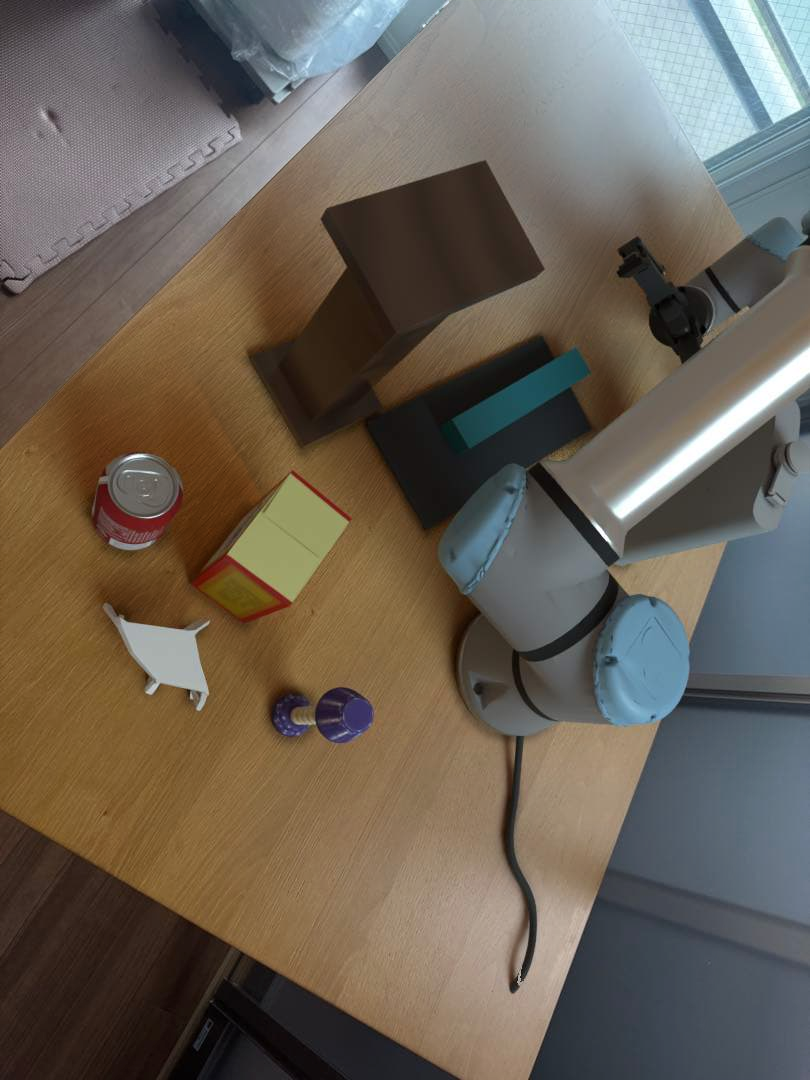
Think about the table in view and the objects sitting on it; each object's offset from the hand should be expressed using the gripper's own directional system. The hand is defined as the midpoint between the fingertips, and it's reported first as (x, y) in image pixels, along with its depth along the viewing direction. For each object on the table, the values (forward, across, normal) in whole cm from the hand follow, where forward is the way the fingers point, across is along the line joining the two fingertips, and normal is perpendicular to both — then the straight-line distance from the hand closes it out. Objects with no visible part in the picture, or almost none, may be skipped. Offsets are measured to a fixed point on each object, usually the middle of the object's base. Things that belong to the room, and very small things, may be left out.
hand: (659, 324), depth 77 cm
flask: (-15, -19, -16) cm, 29 cm away
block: (-6, +1, -20) cm, 21 cm away
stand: (+14, +13, -32) cm, 37 cm away
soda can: (+35, +9, -45) cm, 58 cm away
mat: (-2, 0, -23) cm, 23 cm away
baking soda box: (+29, -1, -41) cm, 50 cm away
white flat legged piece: (+39, -3, -47) cm, 61 cm away
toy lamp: (+32, -16, -43) cm, 55 cm away
